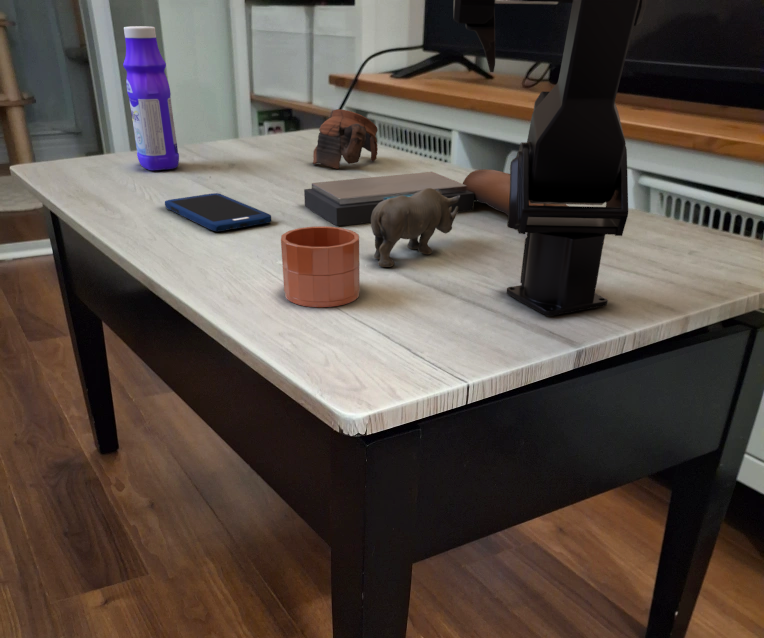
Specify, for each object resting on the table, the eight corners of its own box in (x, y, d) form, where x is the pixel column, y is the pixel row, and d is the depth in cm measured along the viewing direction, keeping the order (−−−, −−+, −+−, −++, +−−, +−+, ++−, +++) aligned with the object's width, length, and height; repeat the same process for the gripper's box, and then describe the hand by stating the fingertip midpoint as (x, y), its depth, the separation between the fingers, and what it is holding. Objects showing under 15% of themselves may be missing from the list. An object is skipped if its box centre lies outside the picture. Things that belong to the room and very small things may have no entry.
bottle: (135, 164, 113) (112, 25, 103) (173, 161, 115) (155, 24, 105) (144, 173, 108) (121, 28, 98) (184, 170, 110) (166, 27, 100)
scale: (473, 210, 93) (475, 185, 91) (336, 226, 86) (336, 200, 84) (433, 192, 100) (434, 169, 98) (304, 206, 93) (303, 182, 92)
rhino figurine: (473, 241, 82) (477, 181, 78) (390, 270, 73) (391, 205, 70) (442, 233, 84) (445, 175, 81) (358, 262, 76) (358, 198, 72)
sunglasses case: (601, 227, 85) (584, 174, 80) (551, 266, 85) (531, 215, 80) (517, 192, 98) (498, 145, 94) (473, 225, 98) (452, 180, 94)
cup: (371, 300, 67) (371, 242, 64) (300, 312, 64) (297, 251, 61) (341, 278, 71) (340, 223, 69) (274, 288, 69) (270, 231, 66)
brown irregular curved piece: (300, 164, 116) (316, 109, 115) (354, 190, 121) (370, 137, 120) (327, 156, 106) (346, 95, 105) (385, 184, 111) (404, 127, 109)
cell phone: (215, 232, 83) (215, 225, 83) (162, 206, 92) (161, 200, 92) (274, 222, 87) (273, 215, 86) (217, 198, 96) (217, 192, 95)
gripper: (656, -139, 72) (613, 21, 87) (460, -140, 73) (449, 19, 87) (669, -64, 68) (621, 91, 83) (459, -66, 69) (448, 88, 83)
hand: (533, 70), depth 84 cm, fingers open, 9 cm apart
